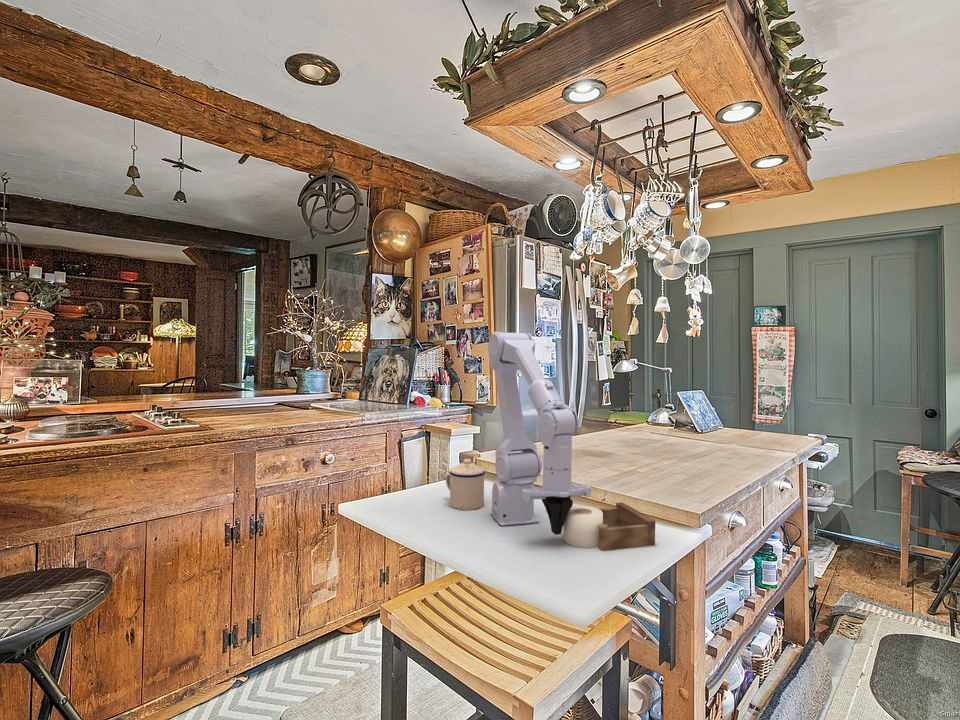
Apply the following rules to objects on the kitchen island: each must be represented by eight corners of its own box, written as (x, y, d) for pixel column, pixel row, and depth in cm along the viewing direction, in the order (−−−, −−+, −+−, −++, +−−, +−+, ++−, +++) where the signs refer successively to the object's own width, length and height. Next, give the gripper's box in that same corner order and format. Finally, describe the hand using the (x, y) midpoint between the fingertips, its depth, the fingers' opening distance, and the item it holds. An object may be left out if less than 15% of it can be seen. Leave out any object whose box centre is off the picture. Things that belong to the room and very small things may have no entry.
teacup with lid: (492, 504, 124) (492, 459, 124) (467, 513, 118) (468, 465, 117) (458, 495, 132) (459, 452, 132) (433, 502, 126) (434, 457, 125)
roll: (573, 549, 97) (573, 518, 97) (557, 534, 104) (557, 506, 104) (609, 545, 99) (610, 515, 99) (591, 531, 106) (591, 503, 106)
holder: (601, 551, 96) (601, 526, 96) (572, 528, 108) (572, 505, 108) (655, 545, 99) (656, 521, 99) (621, 523, 112) (621, 501, 112)
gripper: (531, 473, 94) (530, 543, 95) (598, 469, 98) (597, 536, 98) (519, 465, 101) (518, 530, 101) (582, 462, 105) (581, 524, 105)
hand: (556, 532), depth 100 cm, fingers closed
